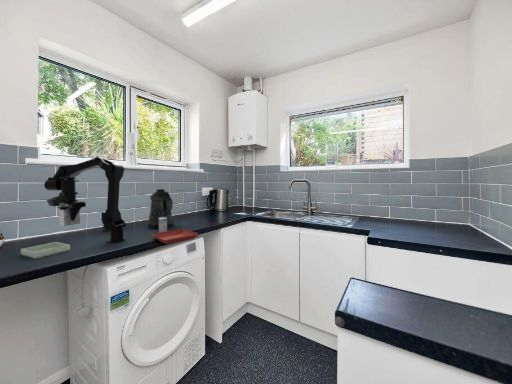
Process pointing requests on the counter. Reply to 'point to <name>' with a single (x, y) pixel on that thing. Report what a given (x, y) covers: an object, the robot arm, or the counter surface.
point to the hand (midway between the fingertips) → (69, 220)
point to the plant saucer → (174, 236)
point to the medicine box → (162, 224)
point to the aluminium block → (67, 218)
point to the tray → (45, 250)
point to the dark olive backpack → (160, 209)
